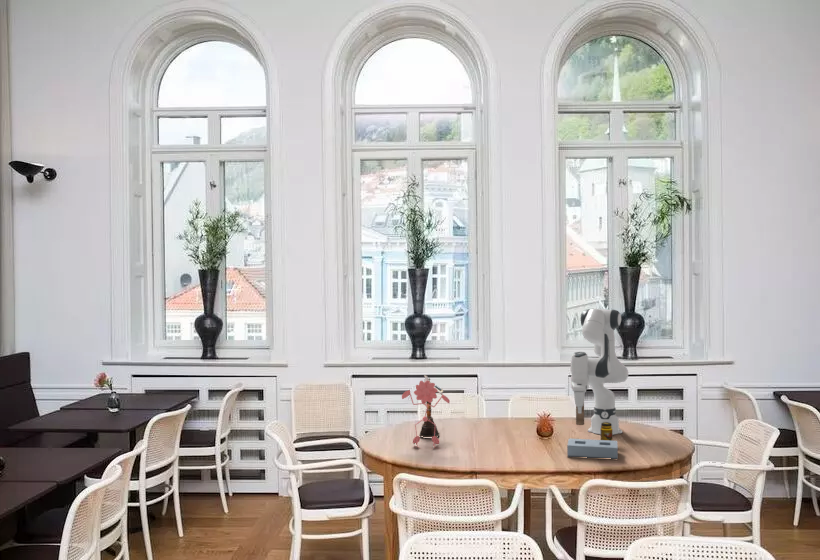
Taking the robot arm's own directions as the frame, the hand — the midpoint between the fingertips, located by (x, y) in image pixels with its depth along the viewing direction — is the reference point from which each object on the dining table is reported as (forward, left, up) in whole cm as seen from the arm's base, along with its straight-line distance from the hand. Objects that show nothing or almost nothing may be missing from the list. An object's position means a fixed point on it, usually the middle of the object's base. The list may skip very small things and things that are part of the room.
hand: (580, 412), depth 357 cm
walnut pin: (0, 0, -6) cm, 6 cm away
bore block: (0, +6, -21) cm, 22 cm away
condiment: (-20, +12, -22) cm, 32 cm away
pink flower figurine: (-1, -80, -22) cm, 83 cm away
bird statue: (-21, -81, -22) cm, 86 cm away
